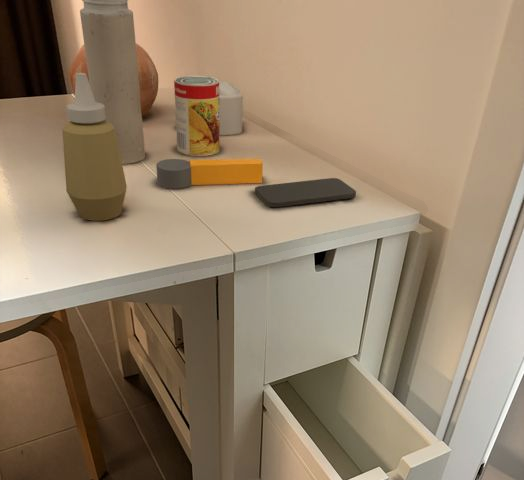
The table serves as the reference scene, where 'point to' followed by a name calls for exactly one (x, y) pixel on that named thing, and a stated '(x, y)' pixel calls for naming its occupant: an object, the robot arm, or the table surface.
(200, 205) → the table surface
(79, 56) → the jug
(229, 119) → the pale grey slab
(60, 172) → the table surface
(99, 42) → the thermos bottle
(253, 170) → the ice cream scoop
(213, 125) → the canned food
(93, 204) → the squeeze bottle
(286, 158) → the table surface
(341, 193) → the phone
